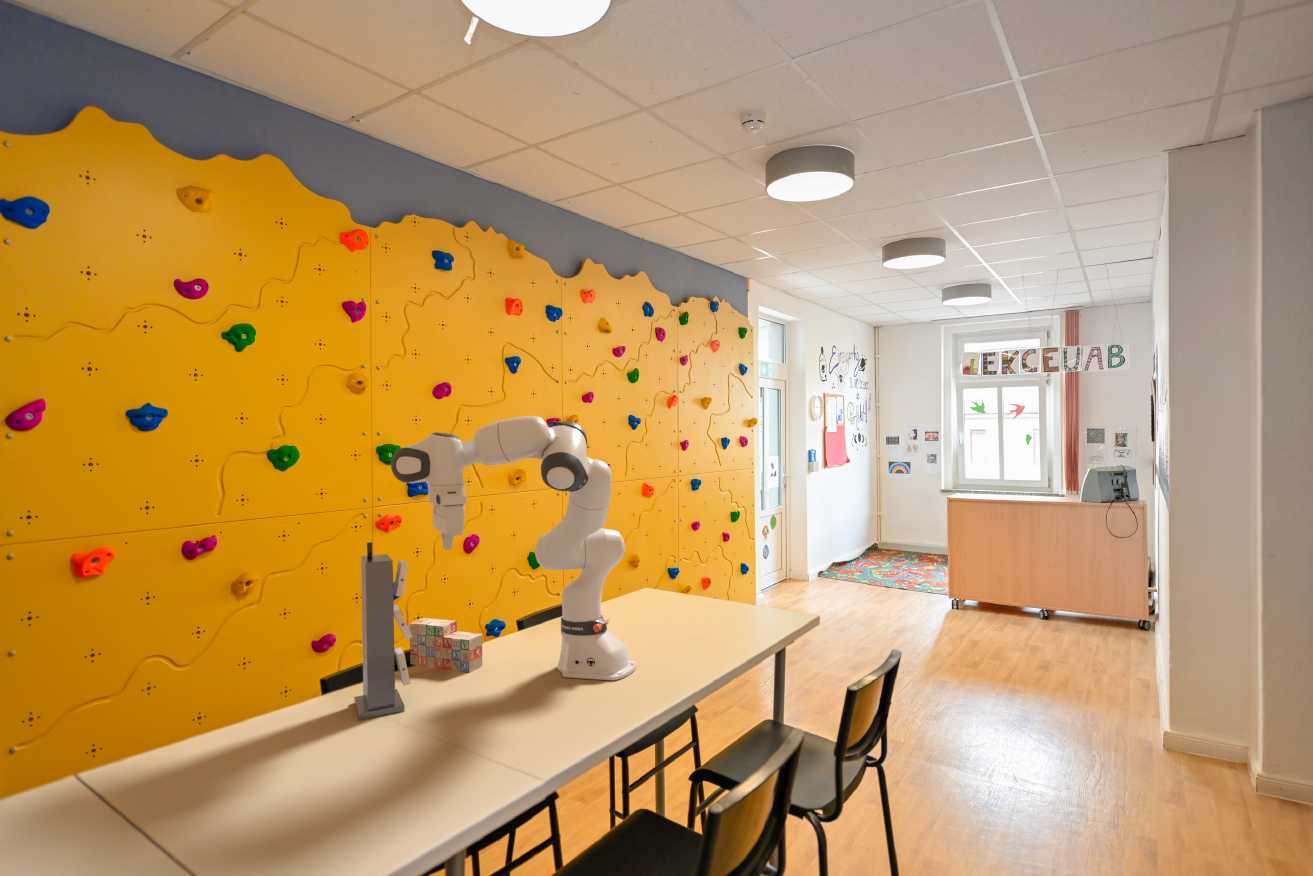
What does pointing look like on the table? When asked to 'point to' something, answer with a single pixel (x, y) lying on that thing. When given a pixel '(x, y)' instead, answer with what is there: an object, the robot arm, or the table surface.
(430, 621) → the stack of blocks
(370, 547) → the power strip
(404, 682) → the bottom rocker
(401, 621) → the middle rocker
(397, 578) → the top rocker
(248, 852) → the table surface
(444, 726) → the table surface
